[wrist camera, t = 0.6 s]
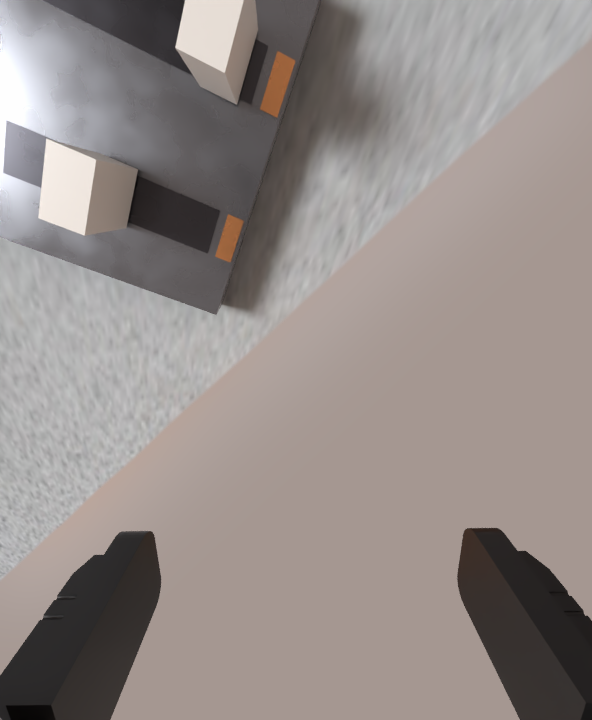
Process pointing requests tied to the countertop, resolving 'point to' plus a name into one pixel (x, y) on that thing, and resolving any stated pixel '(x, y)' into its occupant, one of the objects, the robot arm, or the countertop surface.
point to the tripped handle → (85, 189)
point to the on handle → (218, 43)
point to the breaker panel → (142, 134)
